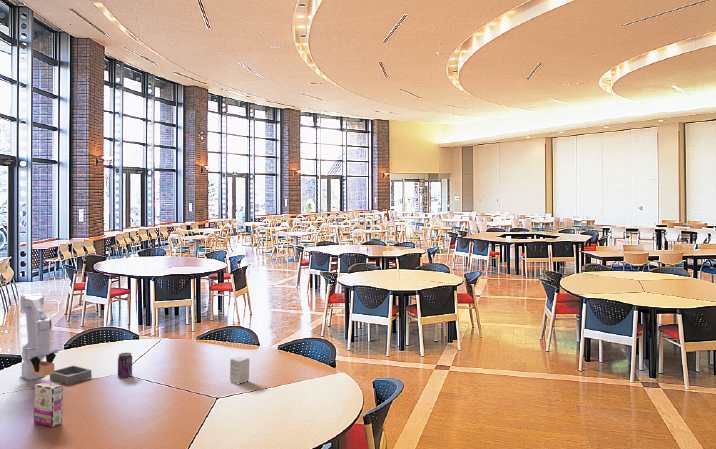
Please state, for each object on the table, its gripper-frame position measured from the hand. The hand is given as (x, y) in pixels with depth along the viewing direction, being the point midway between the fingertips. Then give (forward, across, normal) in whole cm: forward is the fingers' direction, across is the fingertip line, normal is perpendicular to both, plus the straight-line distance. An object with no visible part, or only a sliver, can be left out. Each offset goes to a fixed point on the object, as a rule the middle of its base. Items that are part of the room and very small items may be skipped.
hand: (42, 370), depth 257 cm
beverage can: (+9, +32, -20) cm, 39 cm away
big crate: (+8, +15, 0) cm, 17 cm away
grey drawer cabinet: (+9, +57, -78) cm, 97 cm away
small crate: (+2, 0, 0) cm, 2 cm away
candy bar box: (+9, -25, -44) cm, 52 cm away
